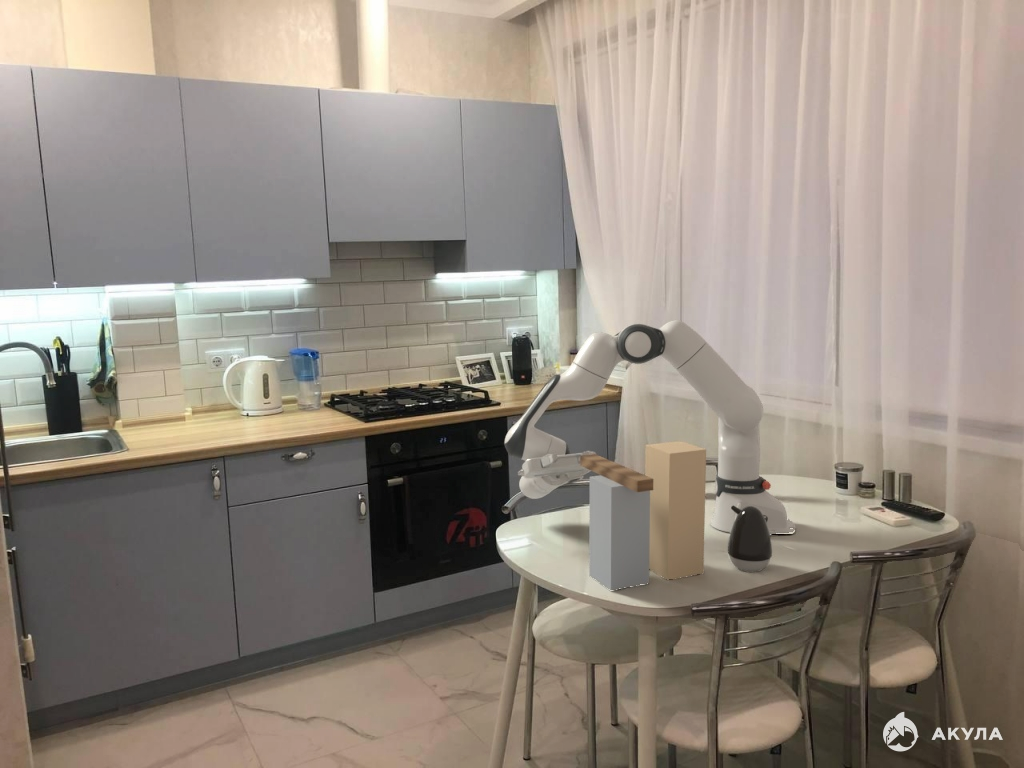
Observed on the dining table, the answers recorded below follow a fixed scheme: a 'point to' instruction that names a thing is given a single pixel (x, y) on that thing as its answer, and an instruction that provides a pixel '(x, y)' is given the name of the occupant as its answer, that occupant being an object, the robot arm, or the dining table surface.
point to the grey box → (618, 534)
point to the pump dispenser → (749, 540)
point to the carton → (676, 508)
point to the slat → (617, 473)
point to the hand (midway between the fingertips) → (571, 455)
